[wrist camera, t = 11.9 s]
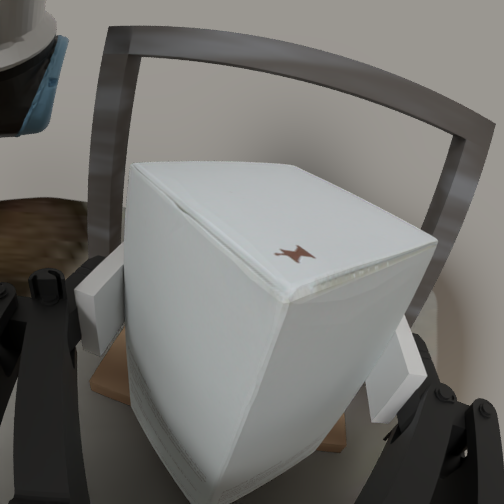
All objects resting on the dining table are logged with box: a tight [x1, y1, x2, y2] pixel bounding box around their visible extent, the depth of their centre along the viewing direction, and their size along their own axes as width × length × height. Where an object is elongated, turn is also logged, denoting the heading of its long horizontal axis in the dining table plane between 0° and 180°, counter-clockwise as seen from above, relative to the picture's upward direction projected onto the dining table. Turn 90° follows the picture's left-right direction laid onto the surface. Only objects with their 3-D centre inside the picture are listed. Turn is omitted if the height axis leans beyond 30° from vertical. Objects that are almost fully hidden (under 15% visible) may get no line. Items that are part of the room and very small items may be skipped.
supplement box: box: [124, 161, 438, 504], centre depth 12 cm, size 7×7×13 cm
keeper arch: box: [88, 26, 496, 453], centre depth 19 cm, size 16×26×21 cm, turn 82°
